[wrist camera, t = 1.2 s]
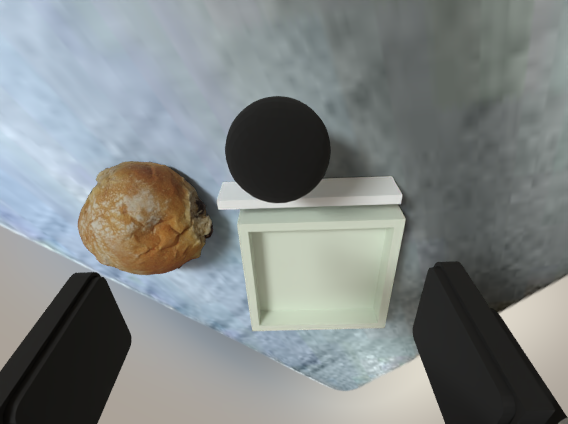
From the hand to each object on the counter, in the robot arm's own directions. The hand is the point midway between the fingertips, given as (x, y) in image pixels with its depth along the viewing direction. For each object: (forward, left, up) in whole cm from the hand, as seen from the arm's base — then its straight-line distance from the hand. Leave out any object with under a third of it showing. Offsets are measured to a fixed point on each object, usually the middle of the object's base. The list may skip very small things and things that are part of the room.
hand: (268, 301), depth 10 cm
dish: (-3, +15, -18) cm, 24 cm away
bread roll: (+11, +8, -18) cm, 23 cm away
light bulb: (0, 0, -18) cm, 18 cm away
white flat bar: (-2, +6, -18) cm, 19 cm away
